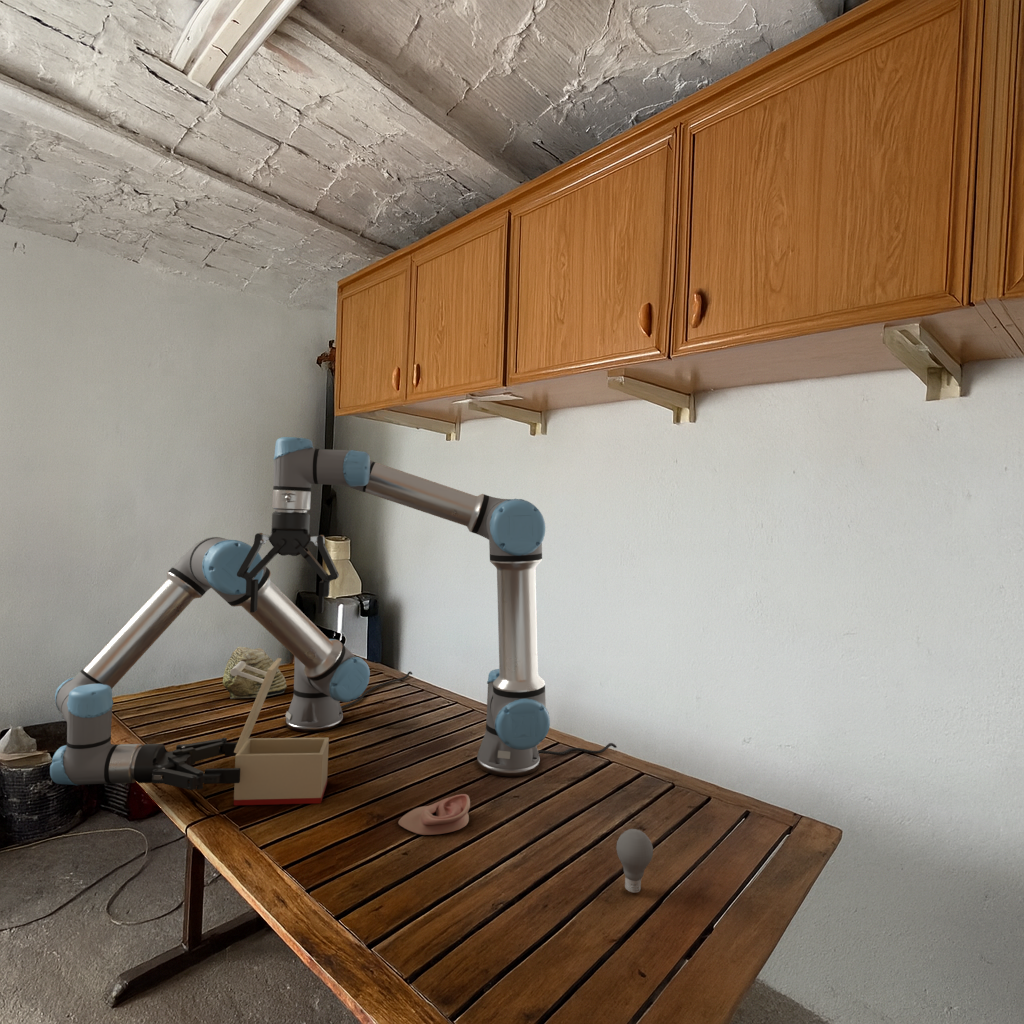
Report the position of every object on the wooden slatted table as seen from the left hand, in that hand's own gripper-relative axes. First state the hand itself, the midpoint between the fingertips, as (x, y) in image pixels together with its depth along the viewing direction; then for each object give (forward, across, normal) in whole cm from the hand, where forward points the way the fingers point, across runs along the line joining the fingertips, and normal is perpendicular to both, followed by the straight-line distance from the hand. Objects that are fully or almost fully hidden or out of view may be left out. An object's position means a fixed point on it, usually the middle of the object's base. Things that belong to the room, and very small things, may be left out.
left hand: (248, 761), depth 133 cm
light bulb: (+71, +39, -7) cm, 81 cm away
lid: (+2, 0, +12) cm, 12 cm away
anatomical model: (+39, +14, -7) cm, 42 cm away
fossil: (-15, -68, -7) cm, 70 cm away
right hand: (+7, 0, +32) cm, 32 cm away
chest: (+7, 0, -7) cm, 10 cm away
